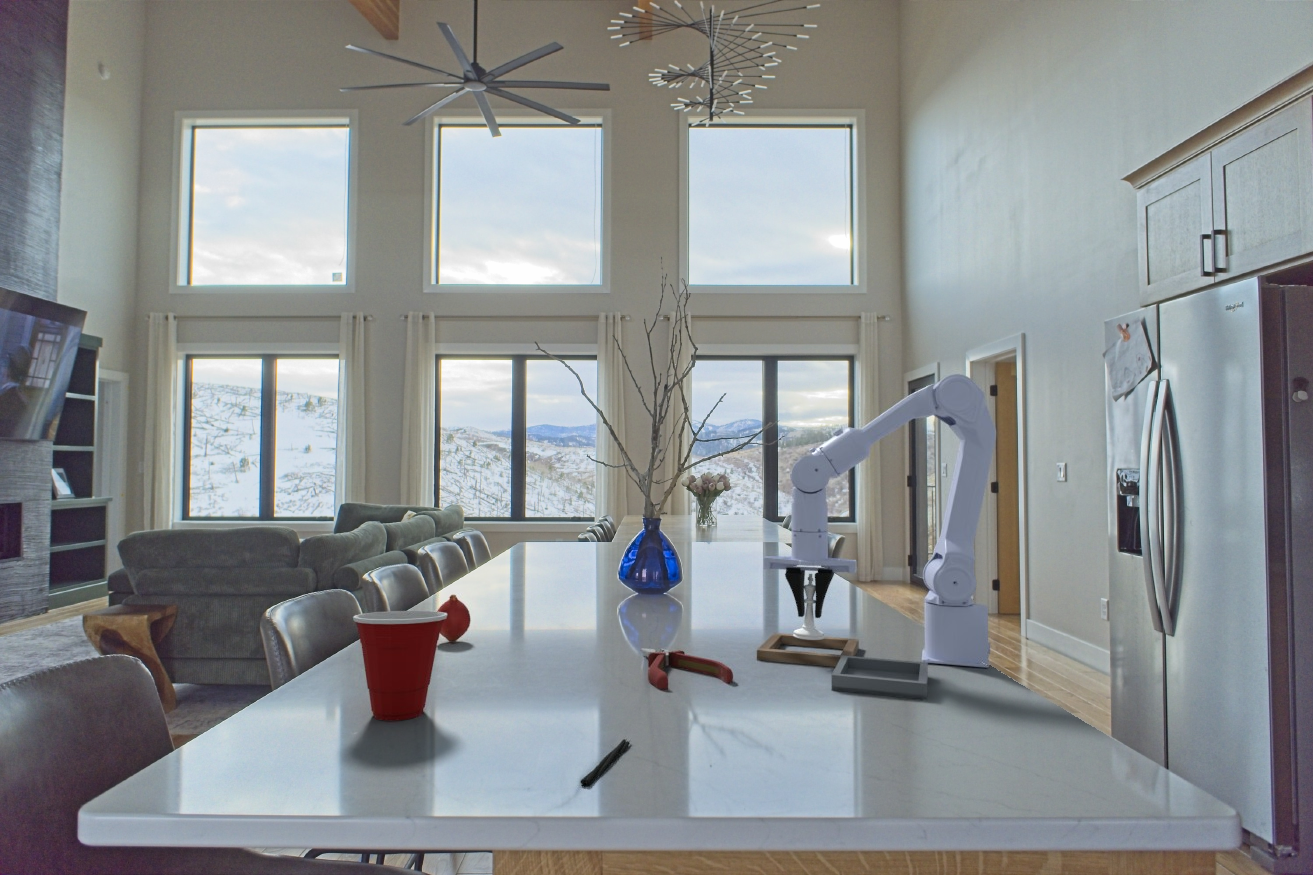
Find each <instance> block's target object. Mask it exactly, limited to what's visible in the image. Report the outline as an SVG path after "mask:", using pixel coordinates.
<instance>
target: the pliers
mask: <svg viewBox="0 0 1313 875" xmlns="http://www.w3.org/2000/svg"><path fill="white" fill-rule="evenodd" d="M640 652H642V653H643V655H644V656H645V657H646V658H647V659H648V662H647V663H648V664H647V666H648V668H649V669H648V671H647V679H648V682H649V683H650V684H651V685H652V686H654V687H655V688H657V689H658V690H664V691H665V690H669V677H668V674H667V673H666V672H665V671H664V670H665V668H666V666H669V667H671V668H672V667H673V668H677V669H681V670H686V671H690V672H696V673H700V674H703V675H704V674H705V675H707V676H713V677H714V678H717V679H719V680H721V681H722V682H723V683H725V684H731V683H732V682H733V680H734V674H733V673H734V672H733V671H732V669H731V668H730V667H729V666H727V665H726V664H724V663H722V662H720V661H717V660H713V659H709V658H705V657H700V656H695V655H689V654H685V651H684V650H675V651H674V650H673V651H670V650H668V649H664V648H661V647H657V649H654V648H642V647H641V648H640Z"/></svg>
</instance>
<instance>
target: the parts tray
mask: <svg viewBox="0 0 1313 875" xmlns="http://www.w3.org/2000/svg"><path fill="white" fill-rule="evenodd" d="M928 668H929V663H926V662H922V661H913V660H912V661H911V660H901V659H890V658H889V659H887V658H877V657H866V656H856V655H855V656H843V655H842V656H841V658H840V660H839V662H838V664H837V666H836V667H834V669H833V671H832V673H831V691H837V692H849V693H858V694H868V695H876V696H878V695H879V696H887V697H888V696H889V697H898V698H907V699H919V700H927V698H928V683H929V682H928V680H929V674H928V673H929V669H928Z"/></svg>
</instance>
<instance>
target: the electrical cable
mask: <svg viewBox="0 0 1313 875" xmlns="http://www.w3.org/2000/svg"><path fill="white" fill-rule="evenodd" d="M631 741H632V739H631V738H629V739H628V738H627V737H626V738H624V739H623V740H621V742H620V743H619V744H618V745H617V746H616V747H615V748H613V750H611V751H610V752H609V753H608V754H606V756H605V757H603V758H602V759H601V760H600V762H598V763H597V765H596V766H595V767H594V768H593V769H592V771H591V770H590V772H589V773H587V774H586V775H585V776H584V777H583V778H581V780H580V784H581V785H580V786H581V787H586V788H590V787H591V786H592V785H593V784H594V783H596V781H597V780H598V778H600V776H602V774H603V773H604V772H605V770H606V769H607V768H609V767H611V765H612V764H614V762H616V760H618V759H619V757H620V756H621V755H622V754H623V753H624V752H625V750H626V749H627V748H628V747H629V746H630V745H631V743H630V742H631Z"/></svg>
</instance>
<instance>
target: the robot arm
mask: <svg viewBox="0 0 1313 875" xmlns="http://www.w3.org/2000/svg"><path fill="white" fill-rule="evenodd" d="M931 416H934V417H935V418H937V419H938V420H939V421H942V422H943V423H944V424H946V425H948V427H949V428H950V429H951V430H952V432H953V433H954V435H955V436H956V437H957V438H958V439H959V442H960V443H959V446H958V451H957V452H958V453H957V456H956V460H955V466H954V470H953V475H952V478H951V484H950V489H949V494H948V498H947V502H946V507H945V513H944V517H943V521H942V526H941V532H940V536H939V538H938V540H937V542H936V544H935V546H934V549H933V553H932V556H931V558H930V559H929V560H928V561H927V563H925V566H924V568H923V569H922V570H923V571H922V578H923V583H924V585H925V586H926V587H927V589H928V590H929V591H928V592H927V594H926V596H924V648H923V649H922V654H921V662H926V663H928V664H938V665H939V664H940V665H950V666H951V665H952V666H962V667H963V666H964V667H973V668H975V667H977V668H985V669H986V668H989V667H990V663H989V662H990V661H989V655H991V642H990V641H989V612H988V605H986V604H977V603H975V600H974V598H972V597H973V596H974V594H975V592H976V589H977V579H976V575H975V571H974V569H975V568H974V567H975V562H976V555H975V548H974V543H975V538H976V533H977V529H978V524H979V521H980V520H979V519H980V514H981V509H982V506H983V500H984V496H985V493H986V492H985V491H986V486H987V483H988V478H989V472H990V467H991V462H992V458H993V453H994V450H995V449H994V448H995V444H996V439H997V428H996V426H995V424H994V420H993V418H992V415H991V414H990V411H989V408H988V405H987V403H986V395H985V392H984V391H983V390H982V389H981V388H980V387H979V385H978V384H977V383H976V382H975V380H973V379H972V378H970V377H969V376H966V375H965V374H960V373H953V374H949V375H947V376H945V377H943V378H942V379H941V380H939V381H937V382H934V383H932V384H930V385H927V386H926V387H923V388H921V389H919V390H917V391H915V392H913V393H911V394H909V395H908V396H906V397H903V399H901V400H900V401H899V402H897V403H895V404H894V405H893V406H892V407H890V408H888V409H886V410H885V411H884V412H883V413H881V414H880V415H879V416H877V417H875V418H874V419H872V420H871V421H869V423H867V424H866V425H864V426H863V427H862V428H854V427H849V426H848V427H846V428H845V429H843V430H842V428H838V429H836V430H835V431H834V432H833V435H834V436H832V437H831V438H829V439H828V440H826V441H825V442H824V443H822V444H820V445H819V446H818V447H815V446H813V447H812V448H810V449H808V452H809V453H810V454H807V455H803V456H801V457H800V459H798V460H797V461H796V462H795V463H794V464H793V466H792V467H791V468H792V469H791V471H790V472H791V473H790V480H791V483H792V484H793V488H792V491H791V498H792V502H791V504H790V505H791V556H785V555H784V556H779V555H778V556H772V555H771V556H770V555H767V556H764V557H763V569H764V570H785V573H784V575H785V579H786V581H787V583H788V585H789V588H790V589H791V592H792V595H793V597H794V601H795V605H796V609H797V616H798V618H803V617H805V614H806V607H805V605H806V603H805V602H803V601H804V599H805V589H804V586H805V576H806V571H812V572H816V573H814V583H815V584H814V585H815V588H816V591H815V600H816V603H814V604H815V605H814V606H815V607H814V618H816V619H820V618H821V617H822V614H823V613H822V612H823V611H822V610H823V606H824V602H825V598H826V595H827V593H828V590H829V587H830V585H831V582H832V580H833V578H834V576H835V573H847V574H856V573H857V559H847V558H837V557H836V558H833V557H829V552H828V551H829V549H828V548H829V547H828V546H829V544H828V542H829V534H828V532H829V531H828V525H829V523H828V520H829V519H828V511H829V510H828V506H829V505H828V504H829V503H828V502H827V485H828V483H829V481H830V478H834V479H838V478H839V477H840V476H842V475H843V474H845V473H847V472H848V471H849V470H851V469H853V468H854V467H855V466H857V465H858V464H860V463H862V462H863V461H865V460H866V459H867V458H869V457H870V452H871V447H872V445H873V444H875V443H877V442H879V440H881V439H882V438H885V437H886V436H887V435H889V434H891V433H892V432H894V431H896V430H898V429H899V428H901V427H902V426H903V425H906V424H907V423H909V422H910V421H912V420H913V419H914V420H915V419H925V418H930V417H931ZM982 662H983V663H985V664H983V663H982ZM986 664H987V665H989V666H987V665H986Z"/></svg>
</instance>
